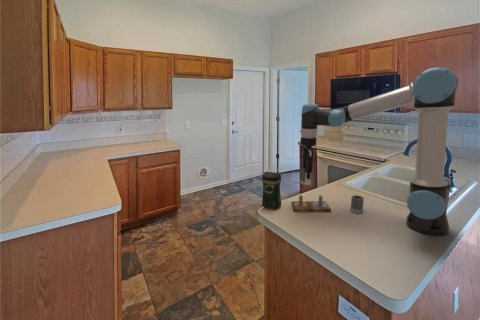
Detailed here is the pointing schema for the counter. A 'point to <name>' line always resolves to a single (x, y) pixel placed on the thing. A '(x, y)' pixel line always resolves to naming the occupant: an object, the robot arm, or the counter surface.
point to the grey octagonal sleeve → (357, 204)
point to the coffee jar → (271, 190)
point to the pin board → (310, 205)
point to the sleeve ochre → (304, 176)
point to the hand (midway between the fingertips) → (306, 182)
